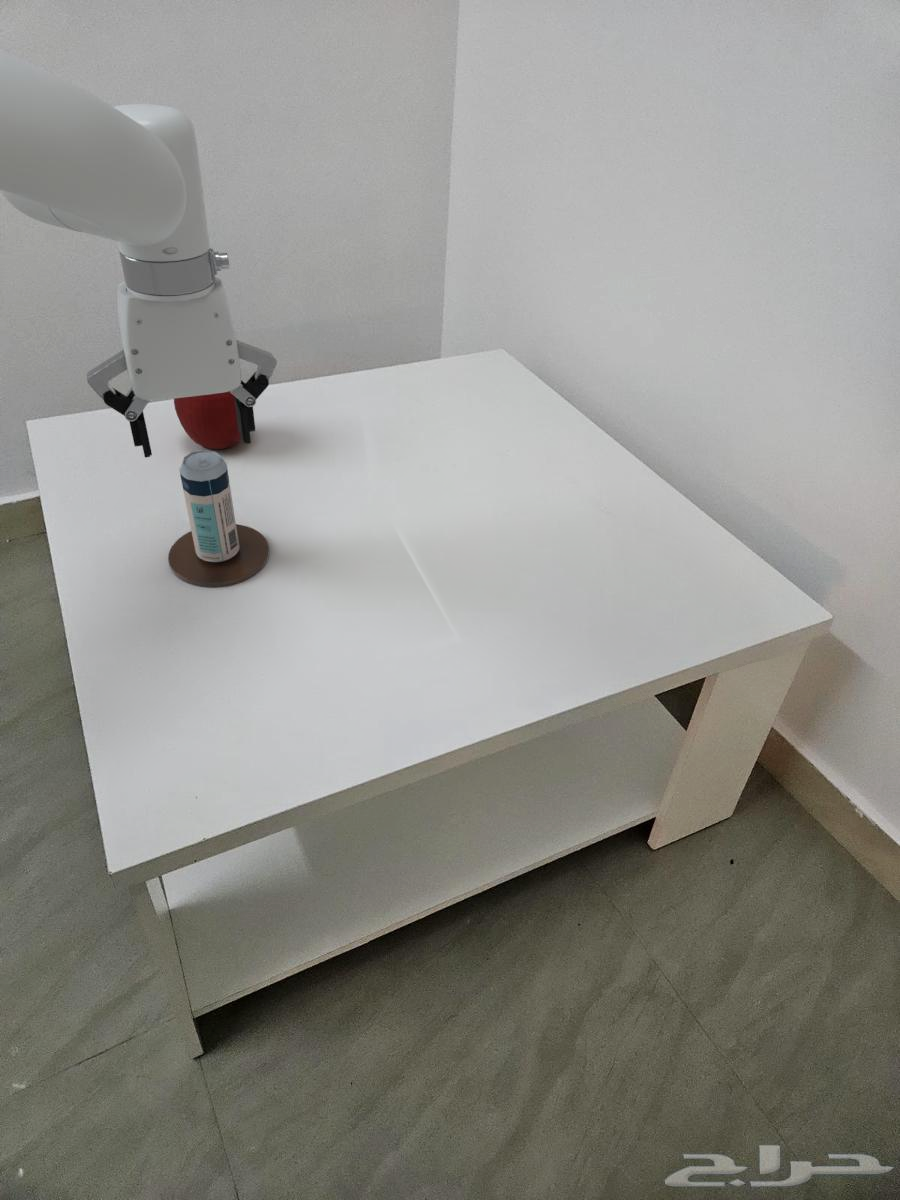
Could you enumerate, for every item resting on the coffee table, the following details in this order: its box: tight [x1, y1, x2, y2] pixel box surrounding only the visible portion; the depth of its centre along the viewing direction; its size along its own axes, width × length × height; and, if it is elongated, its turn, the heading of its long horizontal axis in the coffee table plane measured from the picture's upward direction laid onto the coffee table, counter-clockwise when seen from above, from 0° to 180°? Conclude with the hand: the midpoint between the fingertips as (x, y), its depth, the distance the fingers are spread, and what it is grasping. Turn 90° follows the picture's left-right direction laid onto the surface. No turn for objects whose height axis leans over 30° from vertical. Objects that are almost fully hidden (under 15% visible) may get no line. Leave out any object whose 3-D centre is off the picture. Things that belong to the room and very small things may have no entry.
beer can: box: [179, 449, 239, 562], centre depth 88 cm, size 5×5×12 cm
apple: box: [173, 391, 242, 450], centre depth 107 cm, size 10×10×10 cm
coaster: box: [167, 523, 270, 588], centre depth 92 cm, size 11×11×1 cm
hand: (196, 443), depth 82 cm, fingers open, 9 cm apart
